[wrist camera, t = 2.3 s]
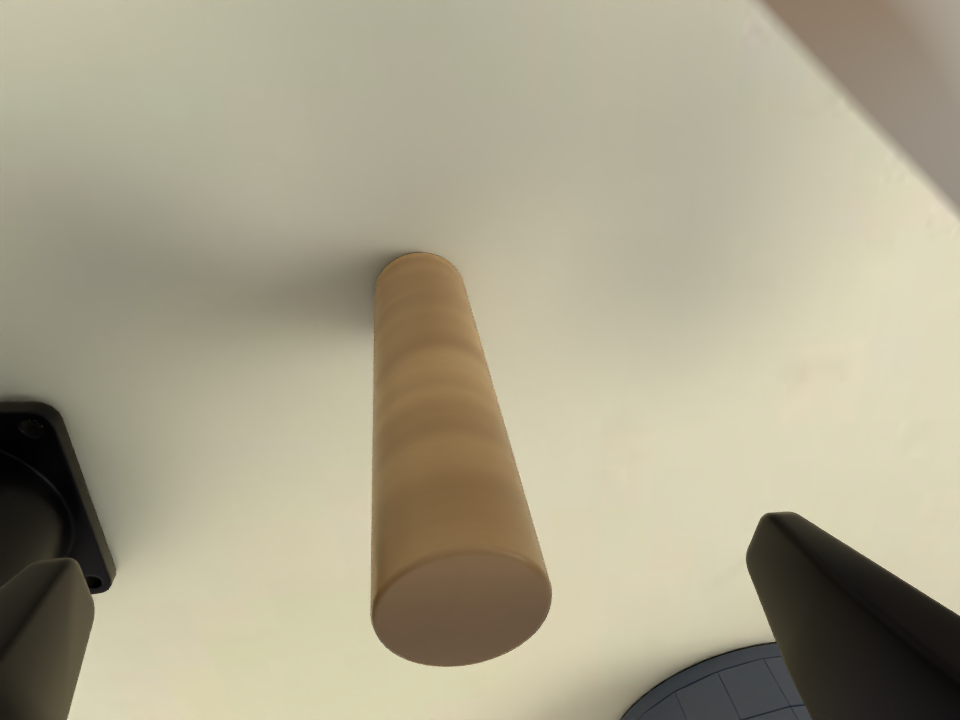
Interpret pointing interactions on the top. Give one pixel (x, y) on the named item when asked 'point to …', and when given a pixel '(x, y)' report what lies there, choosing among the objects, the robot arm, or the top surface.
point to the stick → (444, 482)
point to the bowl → (727, 690)
